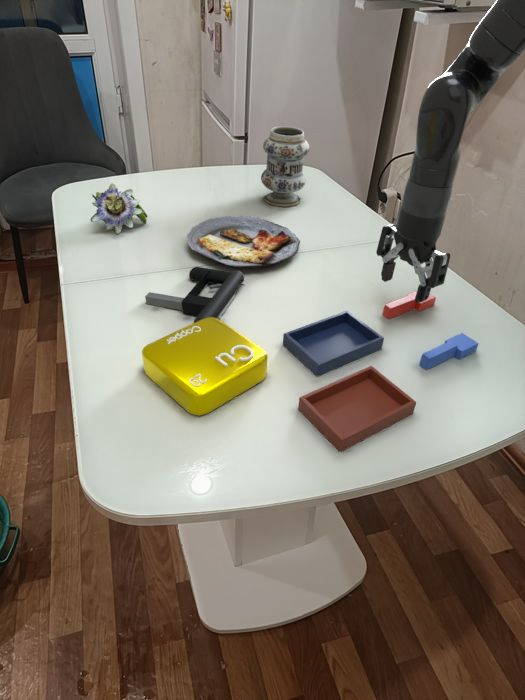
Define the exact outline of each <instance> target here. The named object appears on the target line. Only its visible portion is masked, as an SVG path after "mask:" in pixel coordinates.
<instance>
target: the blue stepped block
mask: <svg viewBox="0 0 525 700" xmlns="http://www.w3.org/2000/svg"><path fill="white" fill-rule="evenodd" d="M479 344H480V343H479V342H478V341H476V340H474V339H473V338H471V337H469V336H468V335H467V334H465V333H463V332H461V333H459V334H456V335H454V336H452V337H450V338H447V339H446V340H444V343H443V344H441V345H438V346H436V347H434V348H431V349H430V350H427V351H425V352H422V354H421V357H420V361H419V364H418V365H419V366H420V367H421V368H423V369H424V370H426V371H427V370H429V369H431V368H433V367H435V366H437V365H439V364H441V363H443V362H445V361H448V360H450V359H452V358H454V357H455V358H456V359H458V360H461V359H464V358H465V357H467V356H470V355H471V354H474V353H476V351H477V349H478V346H479Z"/></svg>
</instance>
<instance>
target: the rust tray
mask: <svg viewBox="0 0 525 700" xmlns="http://www.w3.org/2000/svg"><path fill="white" fill-rule="evenodd" d="M416 405H417V401H415V400H414V399H413V398H412V397H411V396H409V395H408V394H407V393H406V392H405V391H403V390H402V389H401V388H400V387H399V386H397V385H396V384H395V383H393V382H392V381H391V380H390V379H388V377H386V376H385V375H384V374H382V373H381V372H380V371H379V370H377V369H376V368H375V367H374V366H373V365H369V366H366V367H365V368H363V369H360V370H358V371H356V372H353V373H351V374H349V375H346V376H344V377H342V378H340V379H338V380H336V381H333V382H330V383H329V384H326V385H324V386H322V387H319V388H316V389H315V390H313V391H310V392H308V393H306V394H304V395H301V396H299V398H298V406H297V409H298V411H299V412H300V413H301V414H302V415H303V416H304V417H305V418H306V419H307V420H308V421H309V422H310V423H311V424H312V425H313V426H314V427H315V428H316V429H317V430H318V431H319V432H320V433H321V434H322V435H323V436H324V437H325V438H326V439H327V441H329V443H330V444H332V445H333V447H335V448H336V449H337V451H338V452H339V453H341V452H343V451H345V450H347V449H348V448H351V447H353V446H354V445H356V444H358V443H360V442H362V441H364V440H365V439H367V438H369V437H371V436H373V435H375V434H377V433H379V432H381V431H383V430H385V429H387V428H389V427H391V426H392V425H394V424H396V423H398V422H400V421H402V420H404V419H406V418H407V417H409V416H411V415H413V414H414V412H415V408H416Z"/></svg>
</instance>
